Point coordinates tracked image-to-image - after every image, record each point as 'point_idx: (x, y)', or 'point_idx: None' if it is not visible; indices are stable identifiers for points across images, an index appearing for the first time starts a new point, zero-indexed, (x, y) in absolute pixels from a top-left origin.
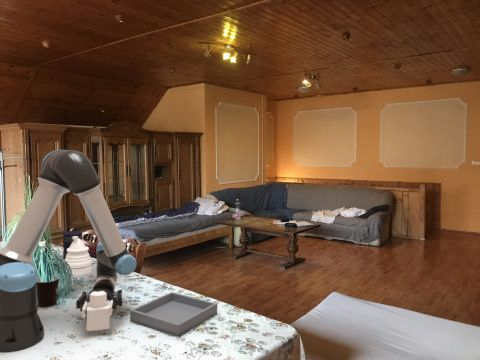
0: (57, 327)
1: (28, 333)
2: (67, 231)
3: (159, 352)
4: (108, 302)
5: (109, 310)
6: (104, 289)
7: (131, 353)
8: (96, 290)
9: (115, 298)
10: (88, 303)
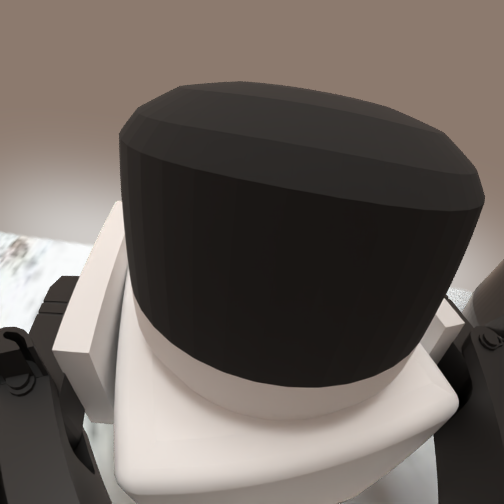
0: None
1: (487, 283)
2: None
3: (13, 244)
4: (134, 379)
5: None
6: (208, 89)
7: (83, 252)
8: (354, 98)
9: (6, 334)
10: (430, 360)
